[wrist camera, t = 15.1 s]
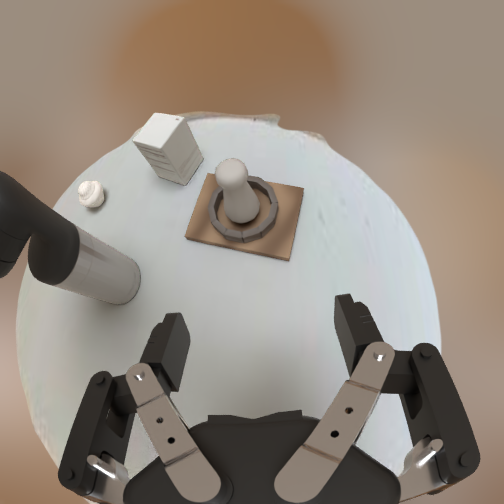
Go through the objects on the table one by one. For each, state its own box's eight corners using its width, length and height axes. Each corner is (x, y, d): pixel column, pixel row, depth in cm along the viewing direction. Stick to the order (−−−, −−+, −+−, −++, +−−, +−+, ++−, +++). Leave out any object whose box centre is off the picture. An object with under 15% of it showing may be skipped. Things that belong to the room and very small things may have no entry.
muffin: (91, 218, 52) (72, 204, 45) (87, 198, 54) (69, 184, 47) (112, 202, 52) (94, 187, 46) (106, 183, 54) (90, 168, 47)
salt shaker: (248, 234, 44) (234, 195, 32) (220, 218, 46) (198, 177, 34) (267, 206, 46) (260, 160, 33) (239, 192, 47) (224, 145, 35)
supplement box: (177, 150, 54) (155, 110, 42) (204, 158, 52) (186, 116, 40) (158, 177, 52) (130, 140, 40) (185, 187, 51) (160, 148, 39)
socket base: (187, 239, 47) (179, 231, 43) (209, 177, 51) (204, 165, 47) (288, 261, 44) (289, 253, 40) (303, 192, 47) (304, 180, 43)
